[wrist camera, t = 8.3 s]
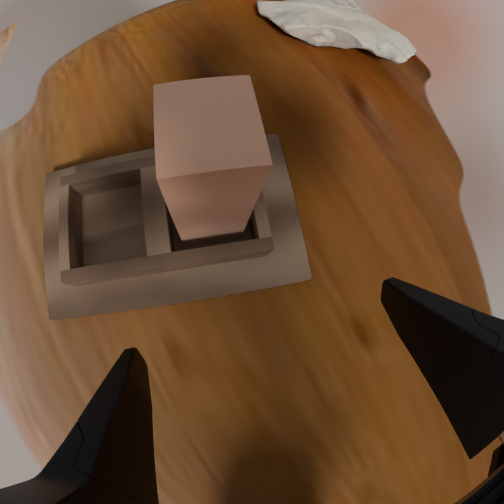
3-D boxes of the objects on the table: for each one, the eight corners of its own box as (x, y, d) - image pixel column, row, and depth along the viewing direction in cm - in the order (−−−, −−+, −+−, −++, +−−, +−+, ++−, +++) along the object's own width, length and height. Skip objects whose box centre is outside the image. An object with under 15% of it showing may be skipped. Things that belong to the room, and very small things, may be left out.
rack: (306, 280, 22) (325, 275, 18) (56, 319, 19) (32, 320, 15) (275, 141, 24) (285, 116, 20) (52, 179, 20) (33, 161, 17)
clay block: (240, 237, 21) (272, 164, 10) (184, 246, 20) (156, 179, 9) (230, 179, 21) (249, 74, 11) (177, 186, 21) (153, 84, 10)
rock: (346, 103, 26) (414, 69, 28) (359, 75, 22) (428, 47, 24) (229, 15, 29) (307, -6, 31) (227, -10, 25) (310, -28, 27)
